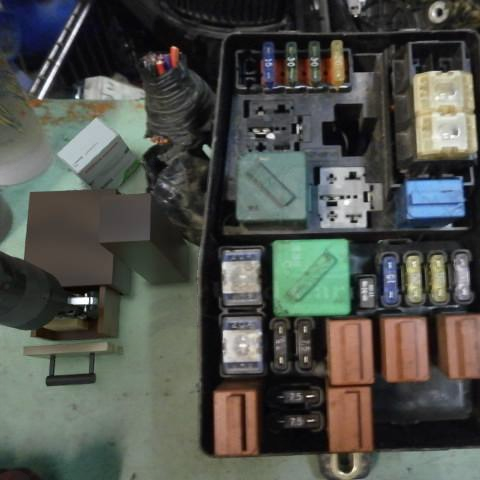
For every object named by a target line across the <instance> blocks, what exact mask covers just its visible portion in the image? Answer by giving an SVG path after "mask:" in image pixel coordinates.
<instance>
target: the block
mask: <svg viewBox="0 0 480 480" xmlns="http://www.w3.org/2000/svg"><path fill="white" fill-rule="evenodd" d="M77 295H78V297H83V296H81V295H79V294H77ZM44 328H47V329H51V330H54V331H72V330H88V322H87V321H84V320H81V319H78V318H76V319H73V320H63V319H54V320H52V321H51V322H49V323H48V324H47V325H45V326H44Z"/></svg>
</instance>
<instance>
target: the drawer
mask: <svg viewBox="0 0 480 480" xmlns="http://www.w3.org/2000/svg"><path fill="white" fill-rule="evenodd" d="M63 290H64V291H66V292H70V293H74V294H79V295H81V296H83V297H84V294H88V292H91V291H95V292H98V296H99V306H98V317H95V318H93V319H92V321H88V330H72V331H54V330H51V329H47V328H44V326H43V327H41V328H38V329H35V330H30V335H29V338H34V339H37V340H42V341H46V342H51V343H53V342H69V341H70V342H71V341H87V340H88V341H89V340H102V339H103V340H105V339H119V331H120V330H119V329H120V307H121V306H120V305H121V304H120V303H121V296H120V292H119V291H117V290H115V289H114V288H112V287H110V286H109V285H106V286H87V287H68V288H63ZM118 355H119V356H120V355H124V346H122V345H119V344H115V343H113V342H109V341H99V342H98V341H97V342H95V341H94V342H81V343H79V342H78V343H63V344H47V345H29V346H27V345H26V346H23V347H22V356H25V357H32V358H38V359H44V360H49V365H48V366H49V367H48V375H47V376H46V377H45V380H44V381H45V386H46V387H48V388H49V387H62V386H79V385H93V384H96V382H97V374H96V373H95V364H96V363H95V362H96V357H101V356H102V357H105V356H118ZM85 357H86V358H87V357H89V359H88V372H85V373H70V374H55V372H56V359H68V358H69V359H70V358H85Z"/></svg>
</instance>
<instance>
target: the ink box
mask: <svg viewBox="0 0 480 480" xmlns="http://www.w3.org/2000/svg"><path fill="white" fill-rule="evenodd" d="M56 156H57V158H58V159H59V160H60V161H61V162H63V163H64V164H65V166H66V167H68V169H69V170H71V171H72V172H73V173H74V174H75V176H77V178H79V179H80V180H81V182H83V183H84V184H85V185H86V186H87V187H88V189H112V188H116V189H117V188H119V187H120V185H122V184H123V183H124V182H125V181H126V180H127V179H128V177H129V176H131V175H132V174H133V173H134V172H135V171H136V169H138V168H139V167H140V166H141V163H140V161H139V160H138V159H137V157H136V155H134V153H133V151H132V150H131V149H130V147H129V146H128V144H127V143H126V142H125V141H124V139H123V138H122V136H121V135H120V133H119V132H117V130H115V129H114V128H113V127H111V126H110V125H109V124H107V123H106V122H105V121H104V120H102V119H101V118H100V117H98V116H96V117H95V118H94V119H93V120H92V121H90V123H89V124H87V125H86V126H85V127H84V128H83V129H82V130H81V131H80V132H79V133H78V134H76V135H75V136H74V137H73V138H72V140H70V141H69V142H68V143H67V144H66V145H65V146H63V148H61V150H59V151H58V152H57V153H56Z"/></svg>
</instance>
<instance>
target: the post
mask: <svg viewBox="0 0 480 480" xmlns="http://www.w3.org/2000/svg"><path fill="white" fill-rule="evenodd" d="M98 243H99V244H100V245H102V246H103V247H104V248H105V249H107V250H108V251H109V252H111V253H112V254H113V255H114V256H116V257H117V258H118V259H120V260H121V261H122V262H123V263H125V264H126V265H127V266H129V267H130V268H131V269H132V271H133V272H134V273H136V274H137V275H139V276H140V277H141V278H142V279H143V280H145V281H146V282H148V283H149V284H150V285H164V284H183V283H185V284H186V283H190V245H189V244H188V243H187V241H186V240H185V239H184V237H183V236H182V234H181V233H180V231H179V229H177V227H176V226H175V224H174V223H173V222H172V220H171V219H170V218H169V216H168V215H167V213H166V212H165V210H164V209H163V208H162V206H161V204H159V202H158V200H157V199H156V198H155V196H154V195H153V193H152V192H146V193H145V192H144V193H123V194H122V193H121V194H119V195H101V201H100V220H99V238H98Z"/></svg>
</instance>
